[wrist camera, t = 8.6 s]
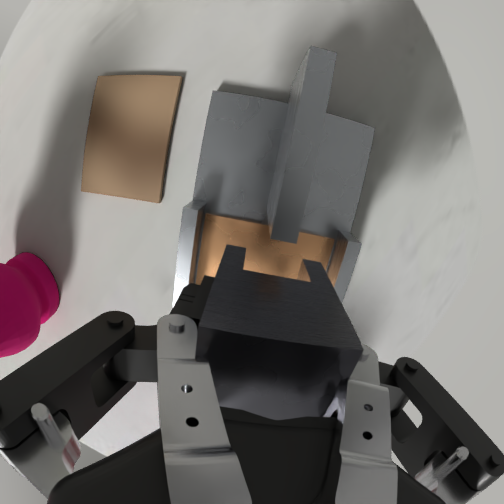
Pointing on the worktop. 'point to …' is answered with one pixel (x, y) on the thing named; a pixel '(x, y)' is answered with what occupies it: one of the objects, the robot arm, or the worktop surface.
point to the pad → (130, 135)
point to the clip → (276, 339)
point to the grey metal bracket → (277, 183)
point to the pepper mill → (24, 301)
